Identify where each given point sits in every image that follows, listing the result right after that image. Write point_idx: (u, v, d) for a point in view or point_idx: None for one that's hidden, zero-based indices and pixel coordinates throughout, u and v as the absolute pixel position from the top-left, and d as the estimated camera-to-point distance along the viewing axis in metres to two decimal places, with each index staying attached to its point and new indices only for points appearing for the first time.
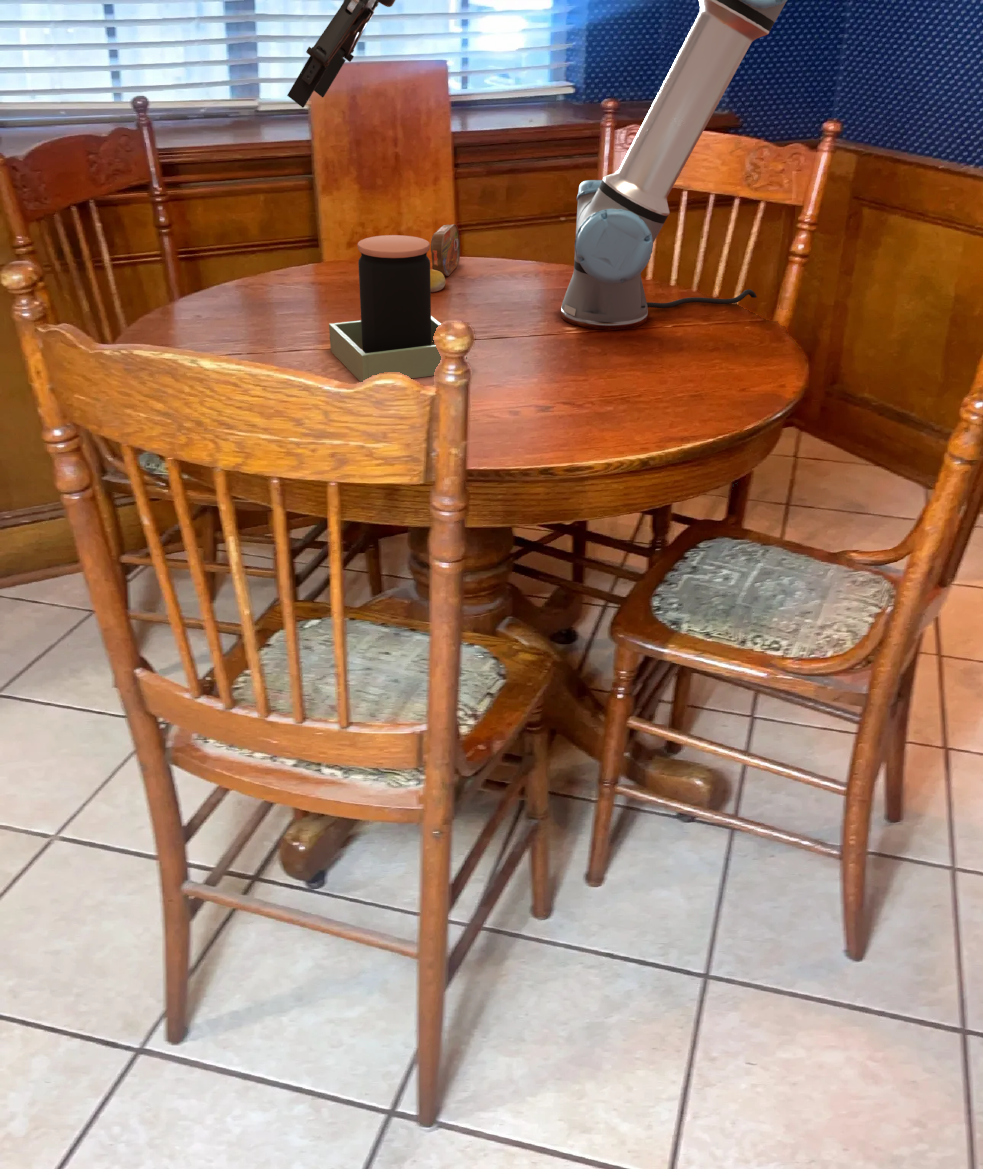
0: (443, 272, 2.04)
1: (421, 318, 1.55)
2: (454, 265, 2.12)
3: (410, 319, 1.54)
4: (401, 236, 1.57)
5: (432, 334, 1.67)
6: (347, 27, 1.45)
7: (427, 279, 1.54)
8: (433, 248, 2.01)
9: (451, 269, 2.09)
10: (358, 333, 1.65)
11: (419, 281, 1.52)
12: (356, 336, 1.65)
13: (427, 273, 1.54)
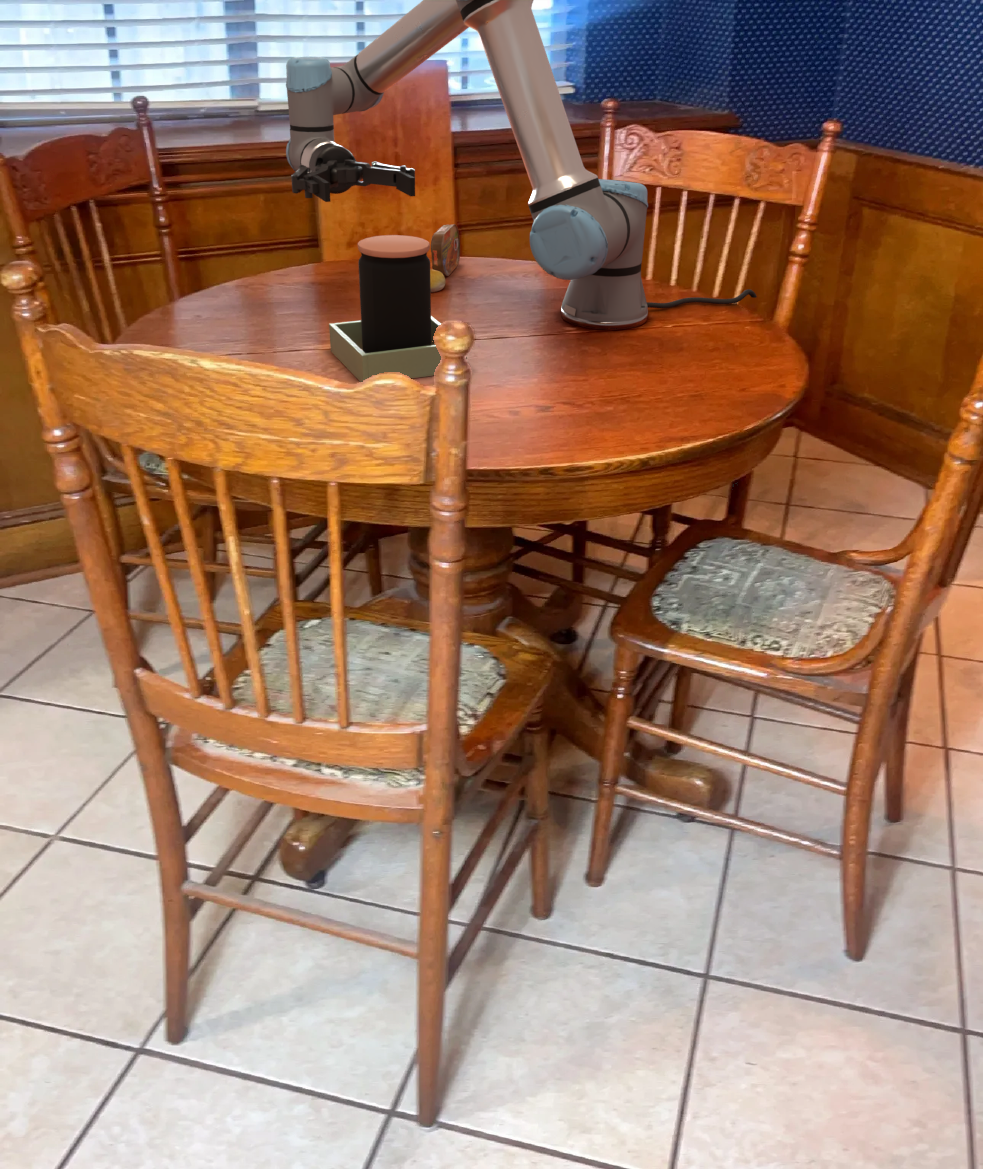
0: (443, 272, 2.04)
1: (421, 318, 1.55)
2: (454, 265, 2.12)
3: (410, 319, 1.54)
4: (401, 236, 1.57)
5: (432, 334, 1.67)
6: None
7: (427, 279, 1.54)
8: (433, 248, 2.01)
9: (451, 269, 2.09)
10: (358, 333, 1.65)
11: (419, 281, 1.52)
12: (356, 336, 1.65)
13: (427, 273, 1.54)
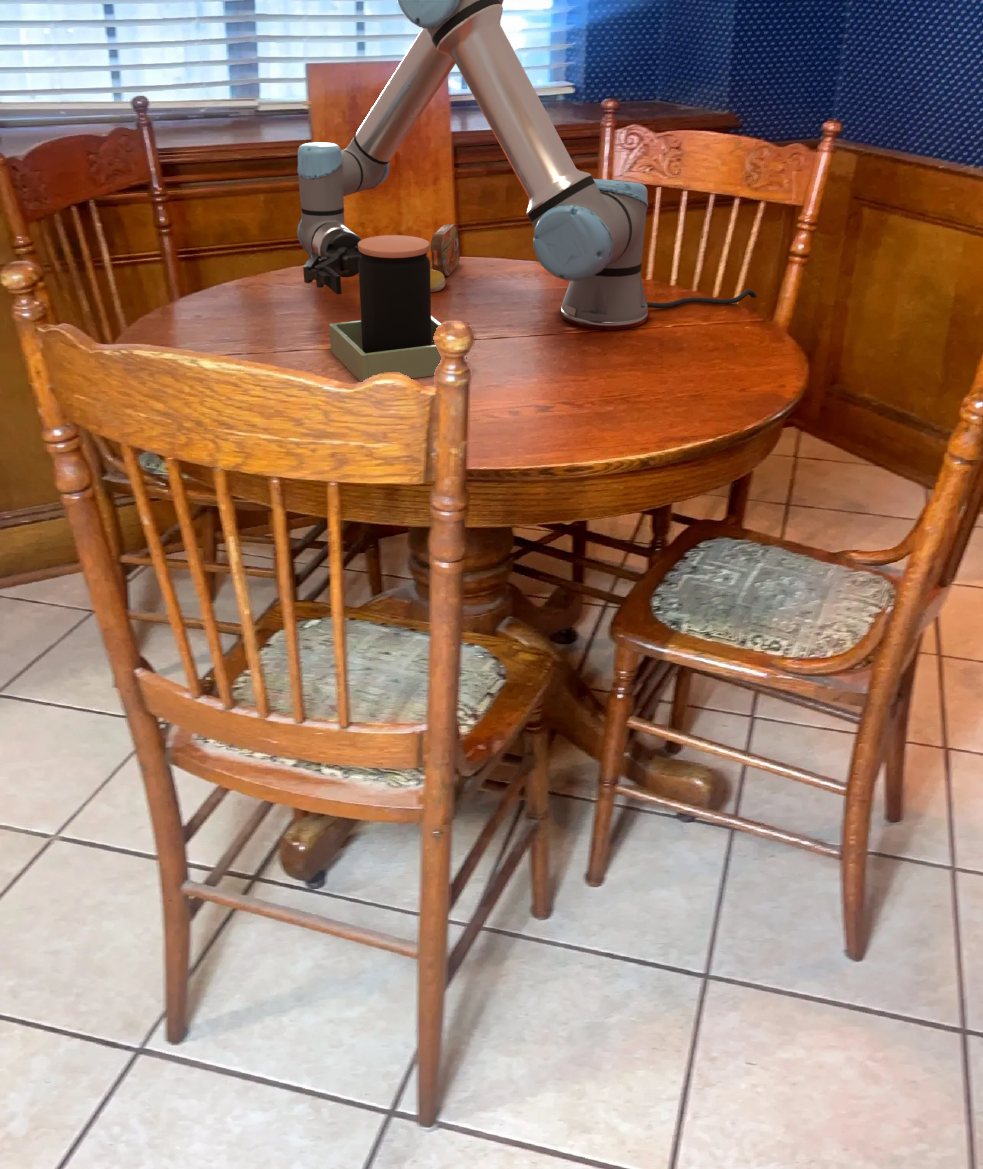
0: (443, 272, 2.04)
1: (421, 318, 1.55)
2: (454, 265, 2.12)
3: (410, 319, 1.54)
4: (401, 236, 1.57)
5: (432, 334, 1.67)
6: None
7: (427, 279, 1.54)
8: (433, 248, 2.01)
9: (451, 269, 2.09)
10: (358, 333, 1.65)
11: (419, 281, 1.52)
12: (356, 336, 1.65)
13: (427, 273, 1.54)
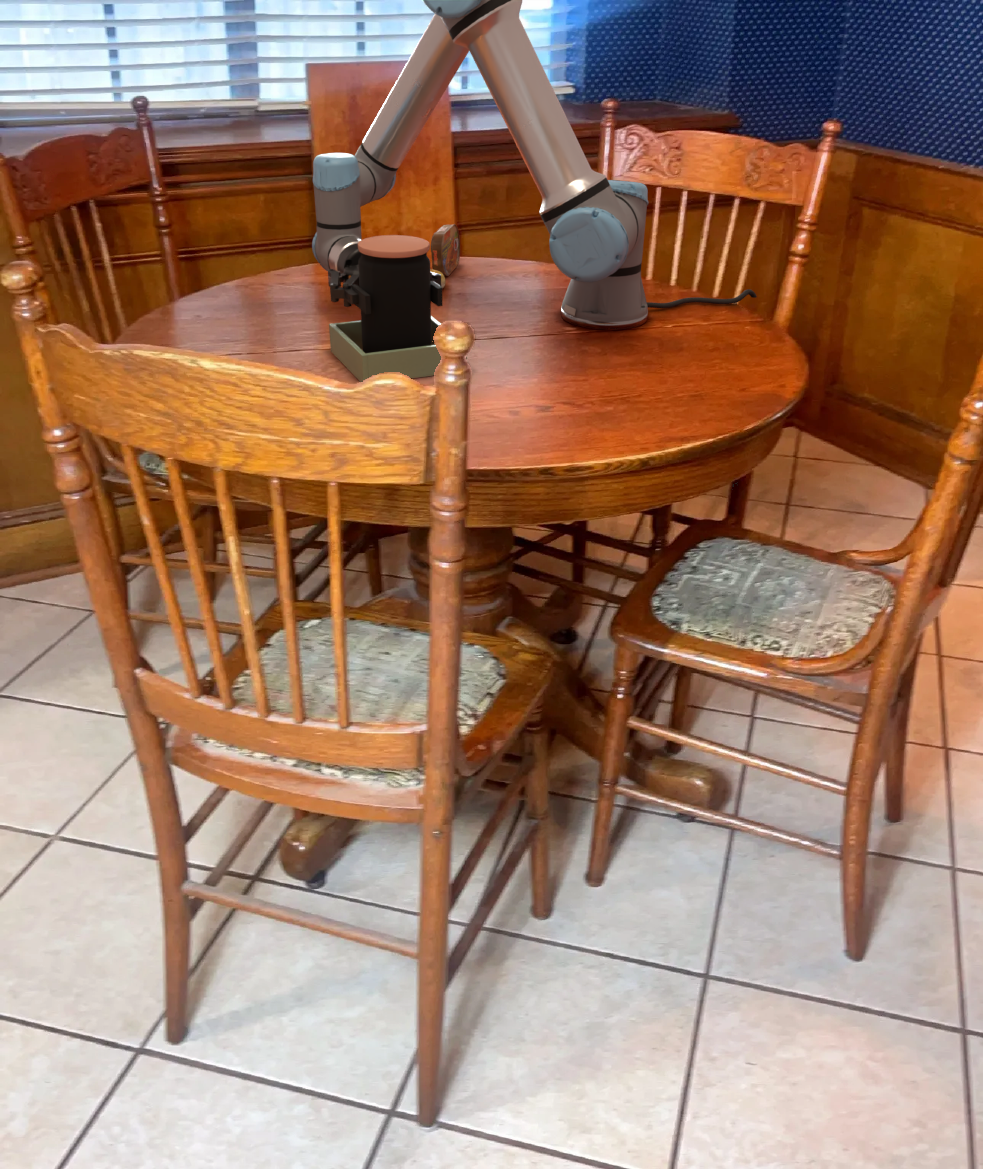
0: (443, 272, 2.04)
1: (421, 318, 1.55)
2: (454, 265, 2.12)
3: (410, 319, 1.54)
4: (401, 236, 1.57)
5: (432, 334, 1.67)
6: (331, 277, 1.61)
7: (427, 279, 1.54)
8: (433, 248, 2.01)
9: (451, 269, 2.09)
10: (358, 333, 1.65)
11: (419, 281, 1.52)
12: (356, 336, 1.65)
13: (427, 273, 1.54)
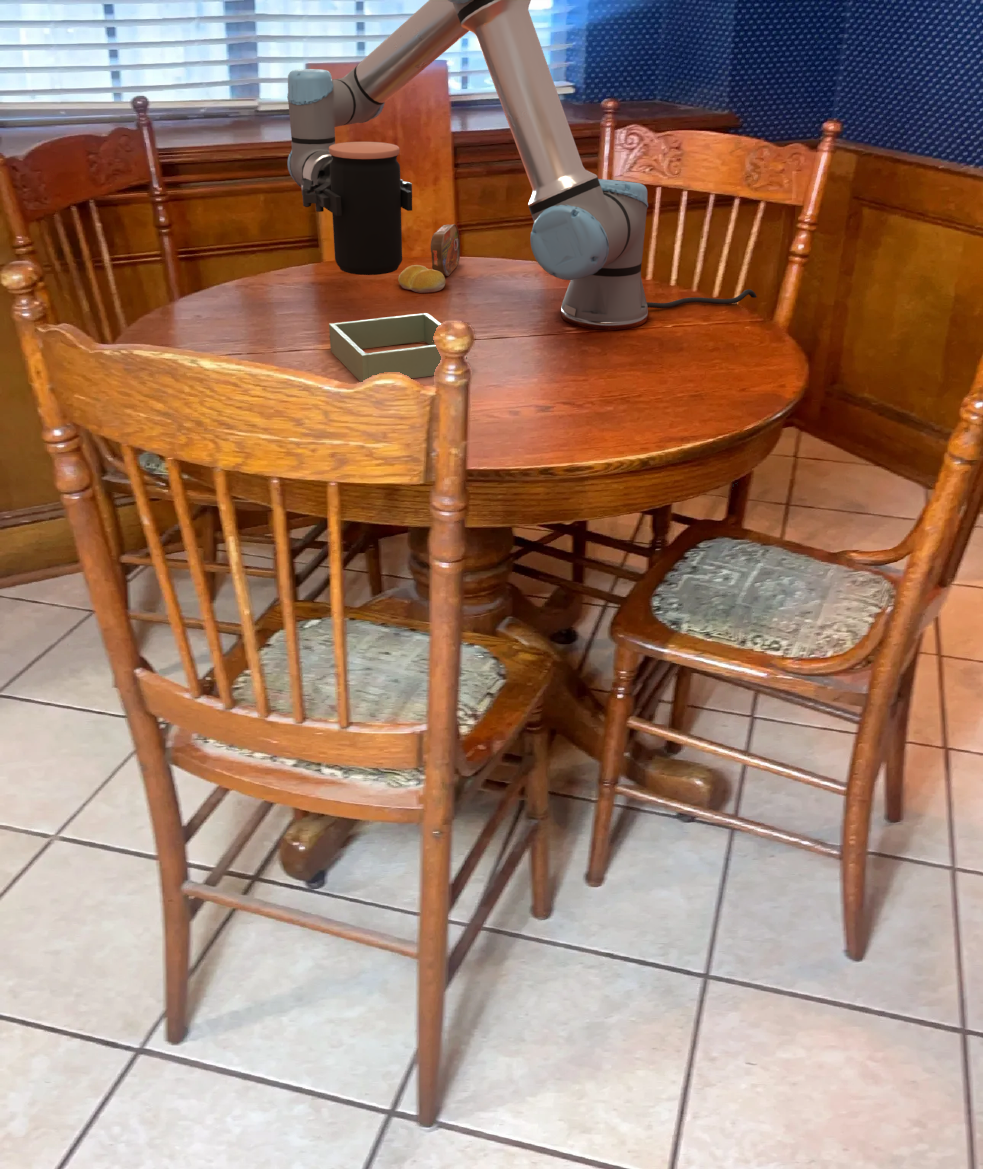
0: (443, 272, 2.04)
1: (391, 222, 1.59)
2: (454, 265, 2.12)
3: (380, 222, 1.58)
4: (372, 142, 1.60)
5: (432, 334, 1.67)
6: None
7: (397, 183, 1.58)
8: (433, 248, 2.01)
9: (451, 269, 2.09)
10: (358, 333, 1.65)
11: (389, 184, 1.56)
12: (356, 336, 1.65)
13: (397, 177, 1.57)
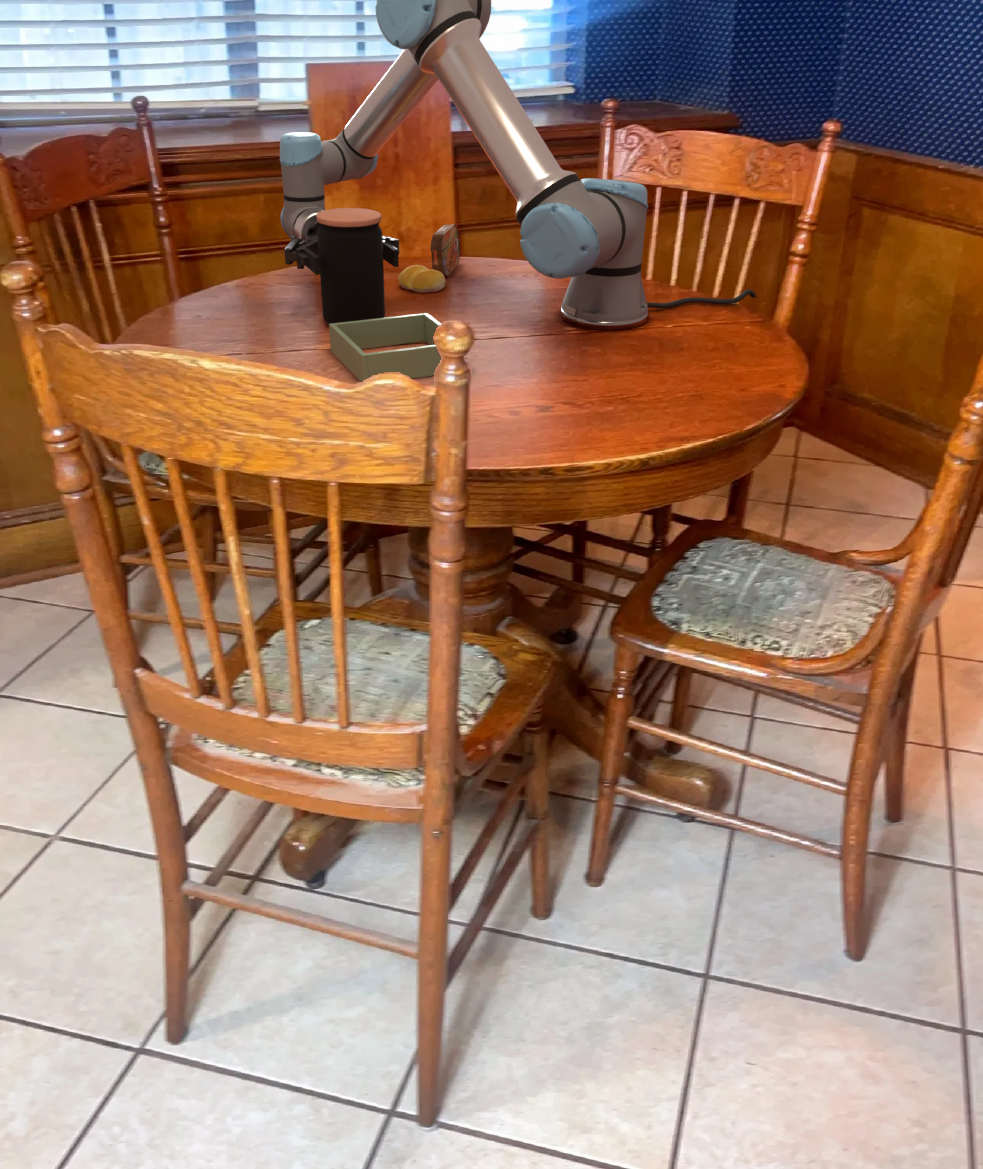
0: (443, 272, 2.04)
1: (374, 283, 1.72)
2: (454, 265, 2.12)
3: (363, 283, 1.71)
4: (356, 209, 1.73)
5: (432, 334, 1.67)
6: None
7: (379, 247, 1.71)
8: (433, 248, 2.01)
9: (451, 269, 2.09)
10: (358, 333, 1.65)
11: (371, 249, 1.69)
12: (356, 336, 1.65)
13: (379, 241, 1.70)
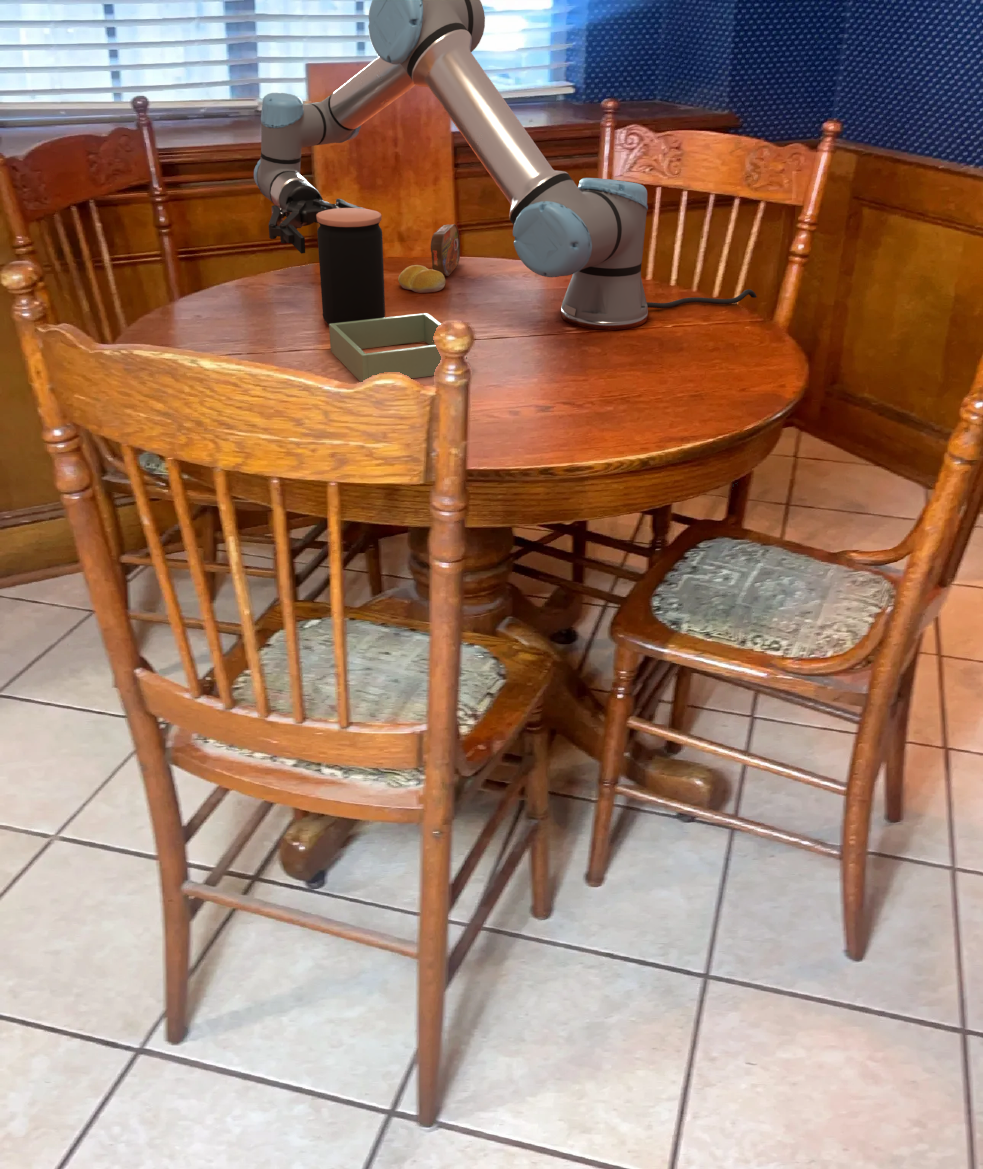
0: (443, 272, 2.04)
1: (374, 283, 1.72)
2: (454, 265, 2.12)
3: (363, 283, 1.71)
4: (356, 209, 1.73)
5: (432, 334, 1.67)
6: None
7: (379, 247, 1.71)
8: (433, 248, 2.01)
9: (451, 269, 2.09)
10: (358, 333, 1.65)
11: (371, 249, 1.69)
12: (356, 336, 1.65)
13: (379, 241, 1.70)
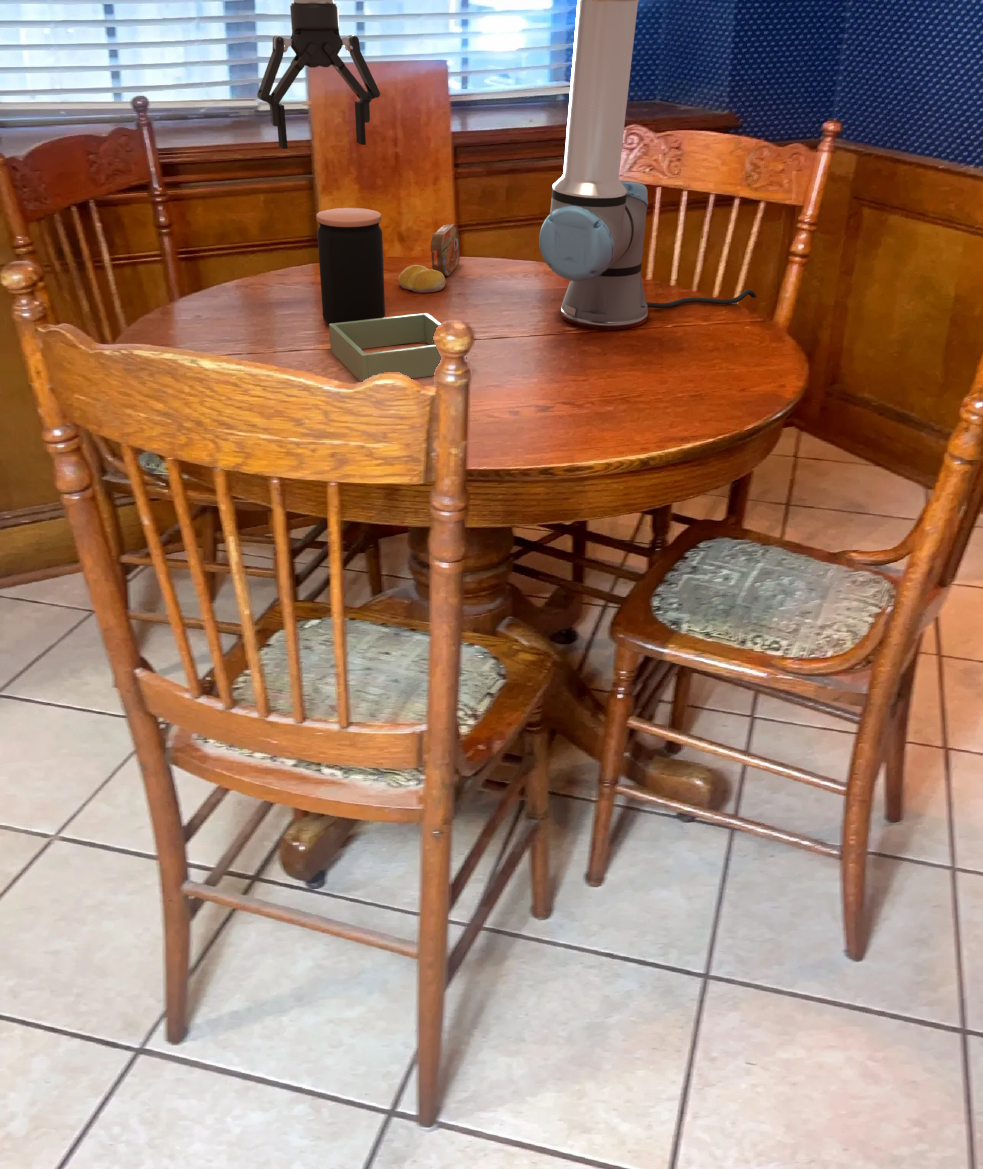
0: (443, 272, 2.04)
1: (374, 283, 1.72)
2: (454, 265, 2.12)
3: (363, 283, 1.71)
4: (356, 209, 1.73)
5: (432, 334, 1.67)
6: (272, 62, 1.65)
7: (379, 247, 1.71)
8: (433, 248, 2.01)
9: (451, 269, 2.09)
10: (358, 333, 1.65)
11: (371, 249, 1.69)
12: (356, 336, 1.65)
13: (379, 241, 1.70)
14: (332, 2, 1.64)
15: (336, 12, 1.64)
